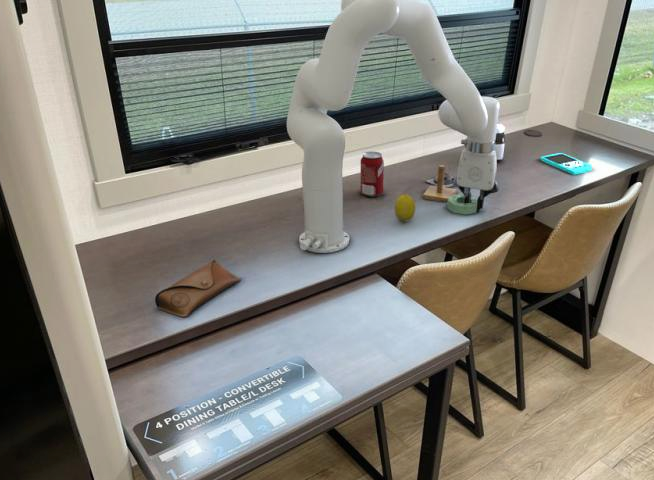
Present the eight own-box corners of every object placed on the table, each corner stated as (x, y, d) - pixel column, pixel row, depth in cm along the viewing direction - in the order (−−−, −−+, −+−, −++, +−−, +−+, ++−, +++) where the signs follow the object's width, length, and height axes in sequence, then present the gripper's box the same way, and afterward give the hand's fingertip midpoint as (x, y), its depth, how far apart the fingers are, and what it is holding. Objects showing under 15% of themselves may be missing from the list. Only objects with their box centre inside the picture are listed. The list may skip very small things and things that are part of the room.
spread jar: (503, 165, 202) (508, 131, 196) (470, 164, 202) (473, 130, 196) (498, 153, 212) (502, 120, 206) (466, 152, 212) (469, 119, 206)
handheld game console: (572, 175, 196) (573, 171, 195) (539, 160, 208) (539, 156, 207) (594, 170, 200) (595, 166, 200) (560, 155, 212) (561, 152, 211)
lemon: (418, 222, 163) (420, 194, 159) (405, 228, 160) (406, 200, 155) (403, 215, 166) (404, 188, 162) (389, 221, 163) (390, 194, 158)
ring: (474, 216, 167) (475, 208, 165) (444, 211, 169) (445, 203, 168) (480, 205, 173) (481, 197, 172) (452, 200, 176) (452, 192, 174)
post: (449, 202, 175) (451, 172, 170) (422, 198, 177) (424, 168, 172) (455, 192, 181) (458, 163, 176) (430, 188, 183) (432, 159, 178)
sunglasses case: (186, 317, 121) (169, 288, 119) (167, 323, 125) (150, 296, 124) (243, 278, 135) (229, 252, 133) (224, 285, 139) (209, 259, 137)
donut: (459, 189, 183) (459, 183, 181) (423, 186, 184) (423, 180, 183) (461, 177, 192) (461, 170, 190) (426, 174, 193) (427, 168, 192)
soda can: (373, 200, 175) (374, 160, 168) (355, 194, 178) (355, 154, 172) (387, 193, 180) (388, 154, 173) (370, 187, 183) (370, 149, 176)
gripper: (447, 145, 160) (441, 210, 170) (508, 154, 155) (498, 219, 165) (454, 138, 166) (448, 200, 176) (512, 145, 161) (503, 209, 171)
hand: (473, 209), depth 170 cm, fingers closed on ring, 2 cm apart
